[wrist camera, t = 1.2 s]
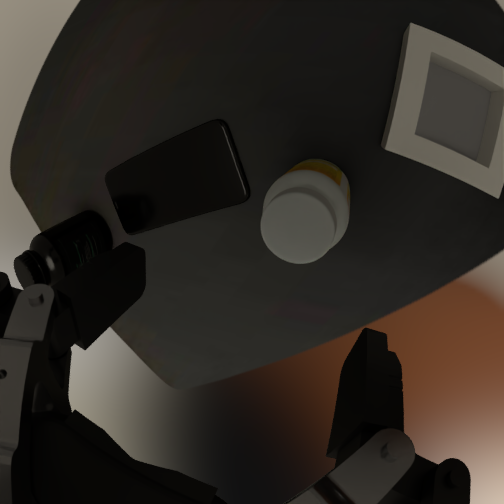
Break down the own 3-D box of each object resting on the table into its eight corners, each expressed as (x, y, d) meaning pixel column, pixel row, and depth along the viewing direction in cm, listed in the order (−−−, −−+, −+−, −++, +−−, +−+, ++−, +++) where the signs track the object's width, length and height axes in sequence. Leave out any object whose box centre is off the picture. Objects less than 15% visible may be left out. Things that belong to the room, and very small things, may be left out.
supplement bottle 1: (80, 248, 36) (16, 289, 26) (77, 203, 33) (4, 239, 23) (114, 266, 35) (47, 317, 25) (113, 218, 32) (35, 264, 22)
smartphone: (226, 115, 23) (106, 172, 30) (222, 115, 23) (101, 174, 29) (255, 198, 26) (131, 235, 32) (252, 201, 25) (126, 238, 32)
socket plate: (403, 33, 15) (410, 22, 13) (507, 83, 13) (524, 81, 11) (380, 145, 20) (385, 149, 18) (483, 189, 18) (498, 198, 16)
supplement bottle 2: (361, 203, 23) (366, 254, 15) (305, 230, 25) (280, 289, 17) (328, 145, 22) (316, 160, 13) (273, 176, 24) (229, 209, 16)
